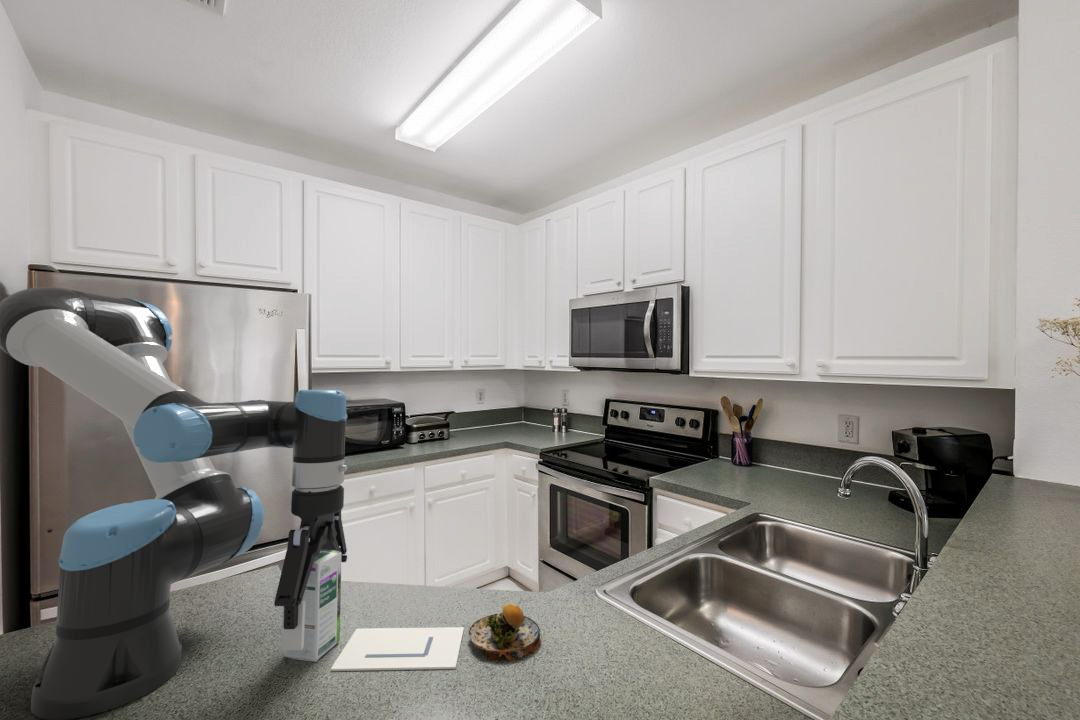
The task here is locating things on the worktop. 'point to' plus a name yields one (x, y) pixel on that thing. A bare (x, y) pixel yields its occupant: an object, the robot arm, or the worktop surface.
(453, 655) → the paper
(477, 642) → the salad plate
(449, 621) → the worktop surface
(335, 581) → the syrup box
